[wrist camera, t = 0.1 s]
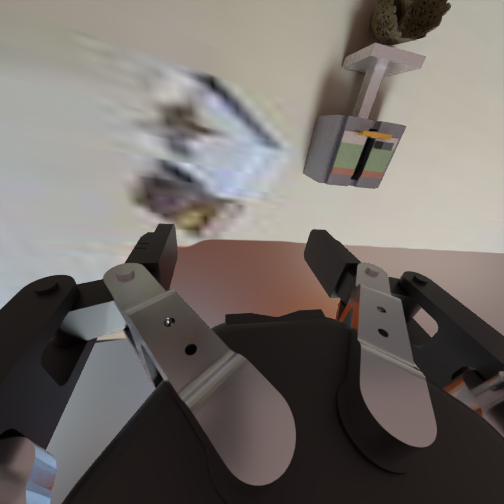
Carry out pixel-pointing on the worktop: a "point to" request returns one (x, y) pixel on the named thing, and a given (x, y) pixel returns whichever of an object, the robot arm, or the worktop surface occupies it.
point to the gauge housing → (349, 151)
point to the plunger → (378, 75)
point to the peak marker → (384, 145)
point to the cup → (406, 19)
